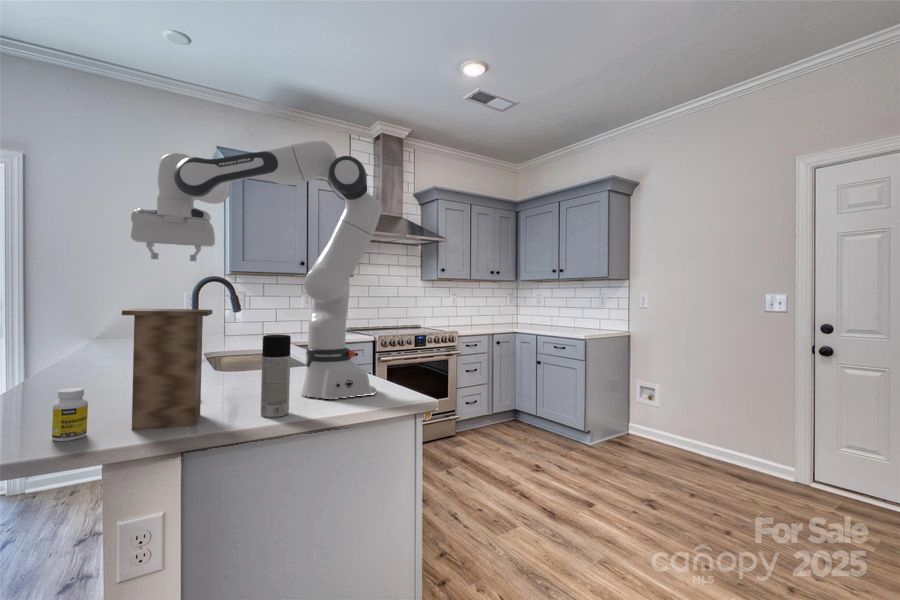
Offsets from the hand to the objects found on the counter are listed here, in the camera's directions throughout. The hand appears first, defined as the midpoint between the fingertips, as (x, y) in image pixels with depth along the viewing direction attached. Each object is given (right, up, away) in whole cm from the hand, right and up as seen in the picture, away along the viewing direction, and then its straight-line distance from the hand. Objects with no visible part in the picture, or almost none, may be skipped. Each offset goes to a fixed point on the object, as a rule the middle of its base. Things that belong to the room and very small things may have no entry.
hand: (174, 260), depth 125 cm
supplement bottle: (+1, -40, -36) cm, 53 cm away
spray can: (+35, -41, -15) cm, 55 cm away
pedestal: (+13, -40, -23) cm, 48 cm away
